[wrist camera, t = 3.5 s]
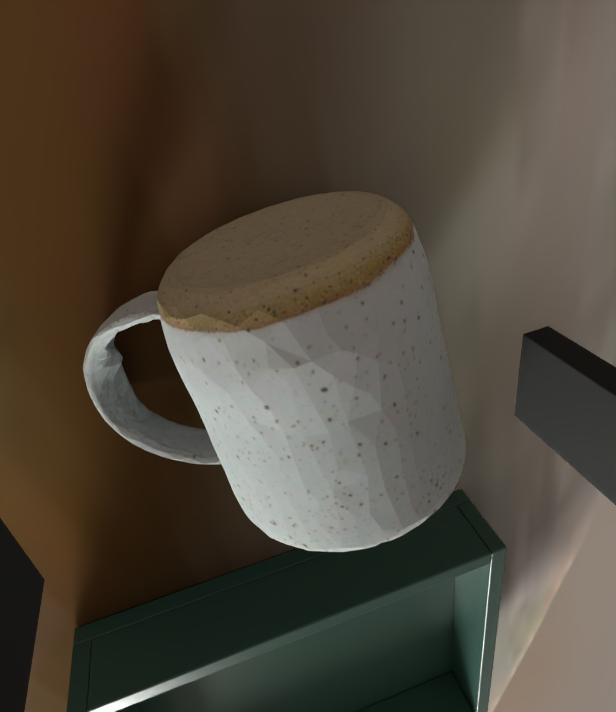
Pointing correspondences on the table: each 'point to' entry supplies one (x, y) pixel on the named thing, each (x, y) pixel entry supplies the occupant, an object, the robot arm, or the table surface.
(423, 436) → the ceramic mug
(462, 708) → the tray
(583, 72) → the table surface
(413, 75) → the table surface
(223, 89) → the table surface
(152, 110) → the table surface
